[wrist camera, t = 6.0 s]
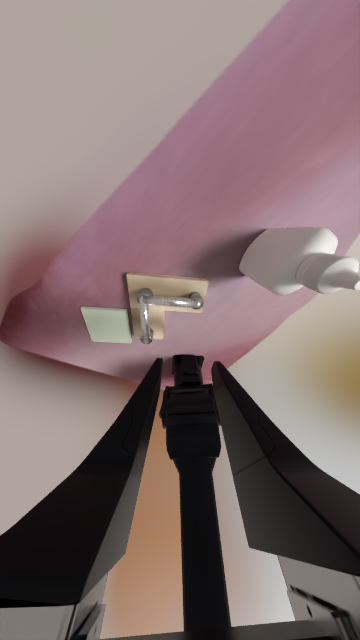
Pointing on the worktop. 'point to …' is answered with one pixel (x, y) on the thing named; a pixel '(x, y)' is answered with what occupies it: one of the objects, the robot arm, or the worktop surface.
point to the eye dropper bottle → (299, 261)
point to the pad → (107, 324)
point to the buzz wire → (161, 300)
